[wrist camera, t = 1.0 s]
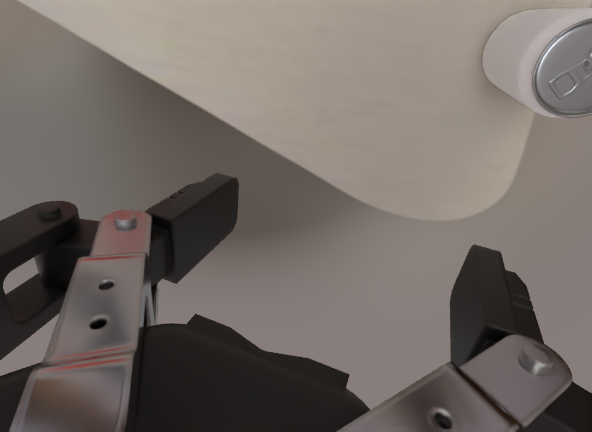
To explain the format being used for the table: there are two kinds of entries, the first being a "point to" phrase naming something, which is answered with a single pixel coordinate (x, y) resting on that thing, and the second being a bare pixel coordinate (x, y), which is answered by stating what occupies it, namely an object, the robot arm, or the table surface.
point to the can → (544, 60)
